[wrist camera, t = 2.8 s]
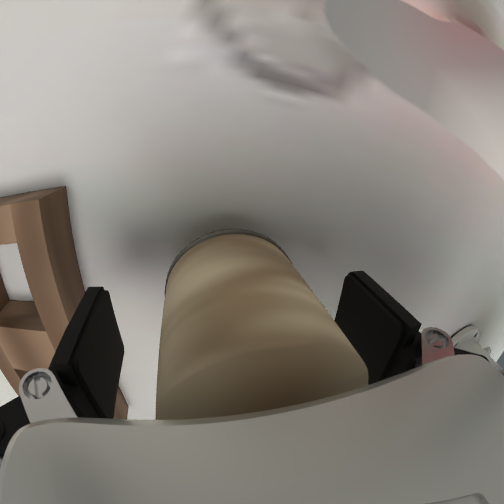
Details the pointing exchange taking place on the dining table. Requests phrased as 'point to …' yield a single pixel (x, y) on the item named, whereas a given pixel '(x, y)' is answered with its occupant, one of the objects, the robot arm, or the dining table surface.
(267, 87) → the dining table surface
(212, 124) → the dining table surface
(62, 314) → the walnut board
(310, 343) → the oak peg
